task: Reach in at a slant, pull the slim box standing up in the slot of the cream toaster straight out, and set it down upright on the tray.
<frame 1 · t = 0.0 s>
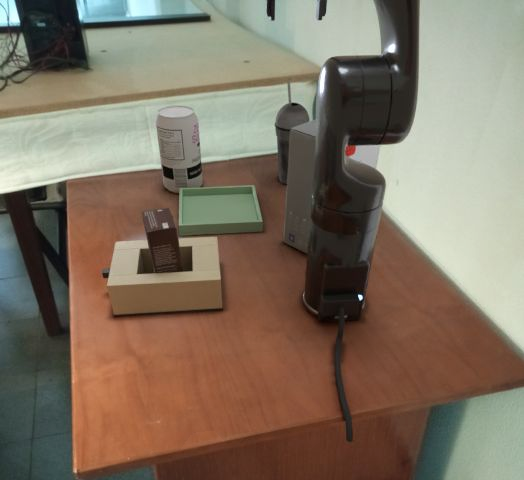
hand: (295, 19, 88), 29 cm above the table, tool pointing down, fingers open, 8 cm apart
supplement can: (183, 187, 105), on the table
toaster: (169, 289, 78), on the table
hard drive box: (325, 236, 91), on the table
box: (169, 288, 78), resting on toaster
beverage cup: (289, 180, 108), on the table
tray: (219, 213, 96), on the table
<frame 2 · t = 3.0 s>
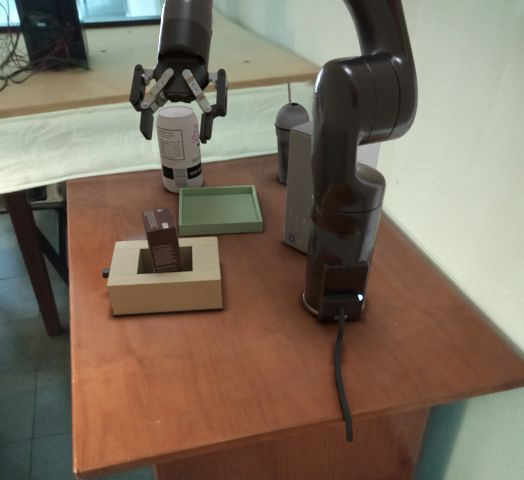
hand: (174, 139, 74), 19 cm above the table, tool tilted 45°, fingers open, 8 cm apart
nothing on the table moved.
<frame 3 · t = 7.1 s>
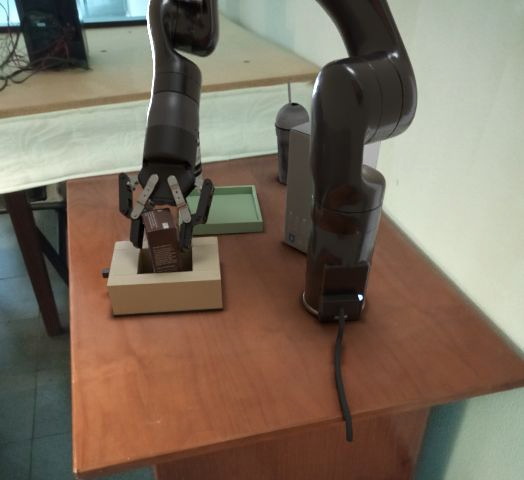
hand: (159, 249, 71), 8 cm above the table, tool tilted 45°, fingers closed on box, 6 cm apart
box: (169, 288, 78), resting on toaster, touching gripper
everything else where it was.
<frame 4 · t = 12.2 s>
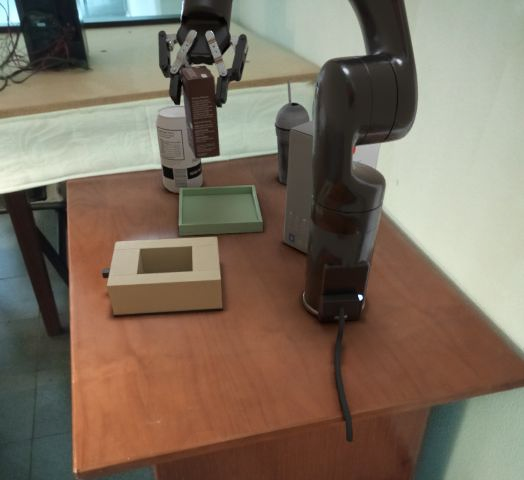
hand: (197, 103, 76), 22 cm above the table, tool tilted 45°, fingers closed on box, 6 cm apart
box: (203, 152, 82), point 14 cm above the table, touching gripper
everything else where it was.
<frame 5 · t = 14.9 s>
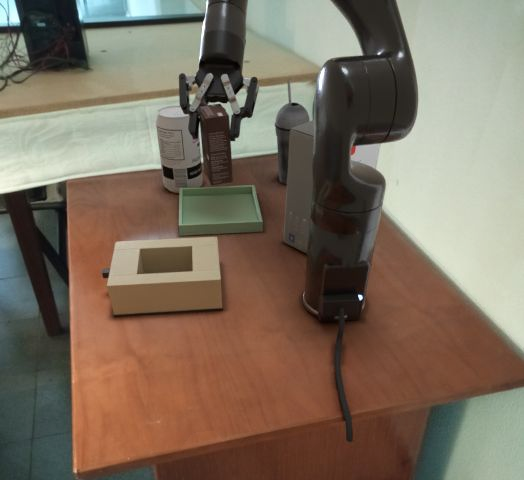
hand: (213, 137, 85), 15 cm above the table, tool tilted 45°, fingers closed on box, 6 cm apart
box: (217, 179, 92), point 7 cm above the table, touching gripper
everything else where it was.
when the fingers open (9 cm above the table, at t = 17.3 s): box stays where it is, resting on tray.
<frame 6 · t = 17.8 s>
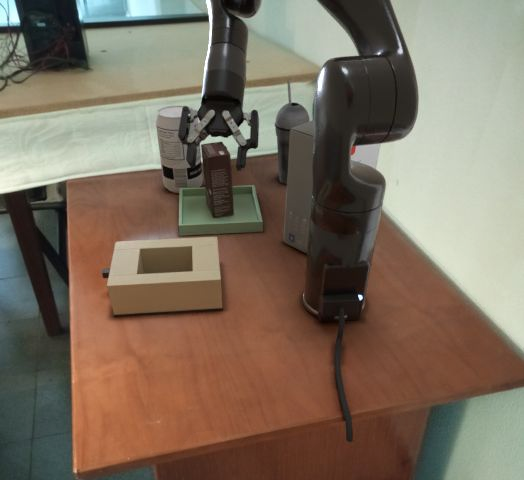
hand: (215, 168, 89), 10 cm above the table, tool tilted 45°, fingers open, 8 cm apart
box: (219, 211, 96), resting on tray
everything else where it was.
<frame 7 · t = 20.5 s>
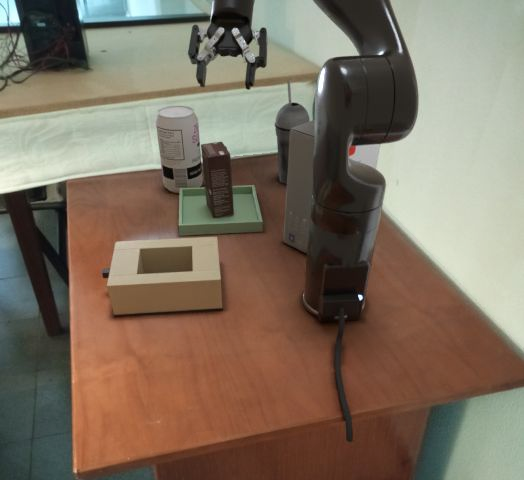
hand: (224, 86, 90), 20 cm above the table, tool tilted 45°, fingers open, 8 cm apart
nothing on the table moved.
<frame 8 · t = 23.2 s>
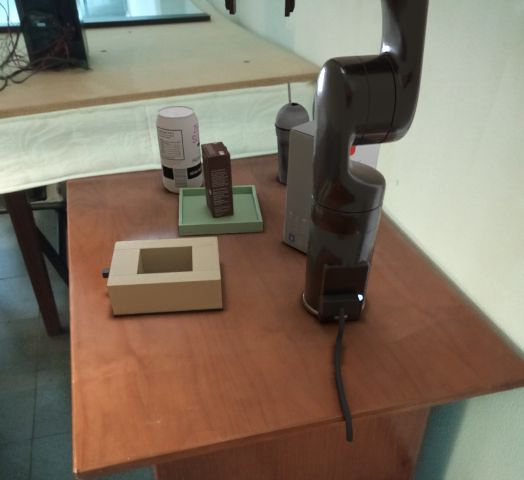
hand: (260, 15, 76), 32 cm above the table, tool pointing down, fingers open, 8 cm apart
nothing on the table moved.
at the end: box inside the target area in the tray (0.2 cm from its centre), point 0.4 cm above the tray's base; box tilted 0°; the gripper is holding nothing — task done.
